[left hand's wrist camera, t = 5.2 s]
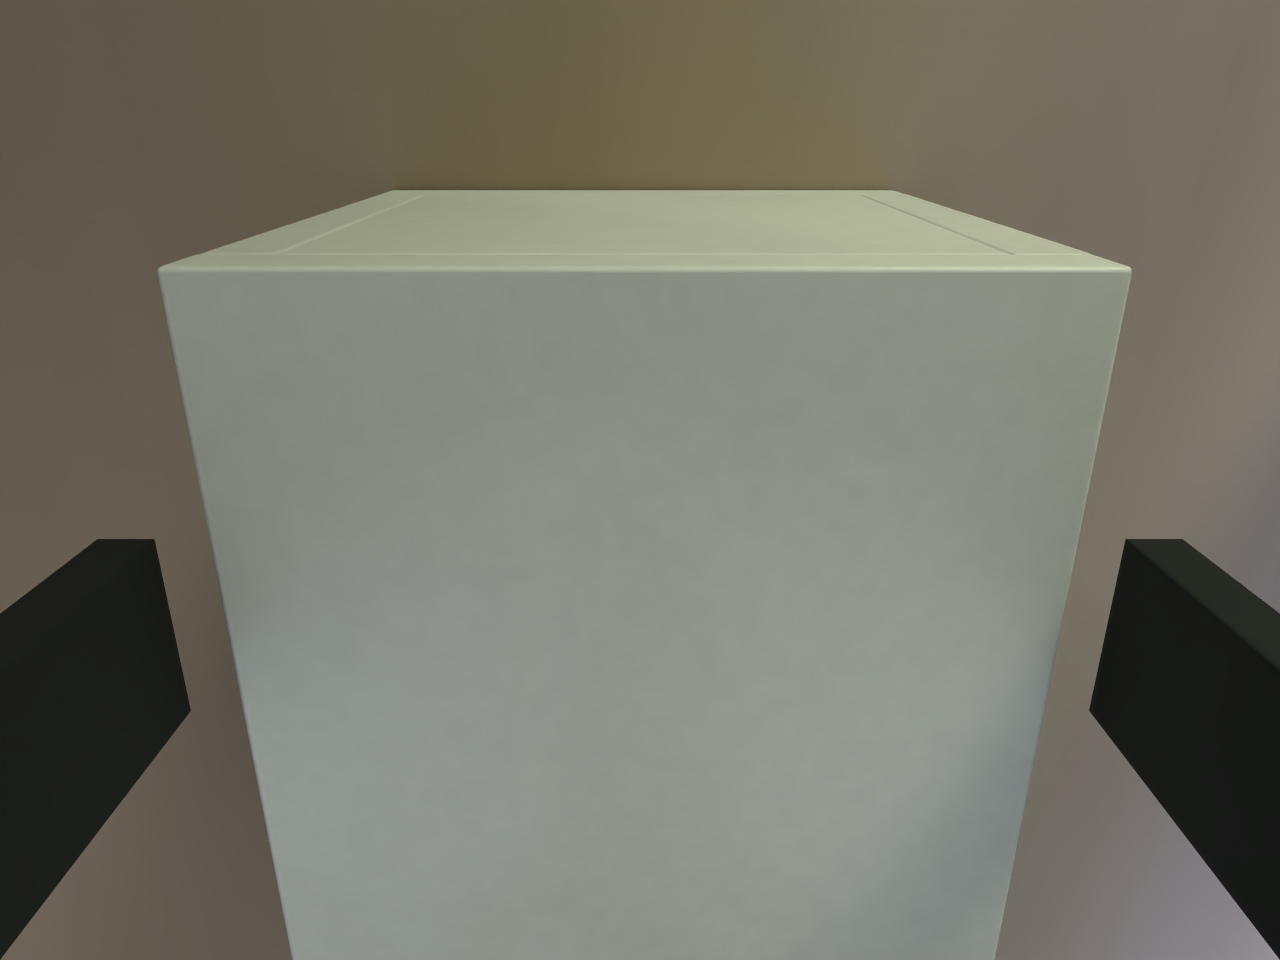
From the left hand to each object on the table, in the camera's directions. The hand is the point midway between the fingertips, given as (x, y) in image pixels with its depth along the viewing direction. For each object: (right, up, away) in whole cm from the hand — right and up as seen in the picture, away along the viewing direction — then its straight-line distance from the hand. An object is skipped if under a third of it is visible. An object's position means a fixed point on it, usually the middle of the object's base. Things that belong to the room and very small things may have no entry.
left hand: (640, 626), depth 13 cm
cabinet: (0, 0, +12) cm, 12 cm away
